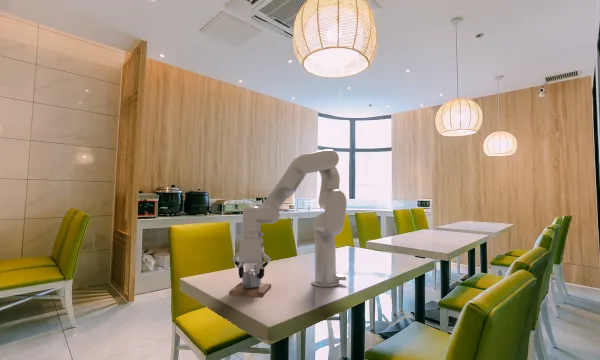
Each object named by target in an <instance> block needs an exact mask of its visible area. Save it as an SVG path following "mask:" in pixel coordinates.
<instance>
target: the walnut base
mask: <svg viewBox="0 0 600 360" xmlns="http://www.w3.org/2000/svg"><path fill="white" fill-rule="evenodd" d="M271 288H272V283H265V282H264V283H262V282H261V284H260V286H257V287H254V288H245V287H243V286H242V282H239V283H238V284H237V285H235V286H234V287H233V288H232V289H230V290H229V294H228V295H229V296H244V297H245V296H246V297H264V296H265V295H266V294H267V293H268V292H269V290H270V289H271Z"/></svg>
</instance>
